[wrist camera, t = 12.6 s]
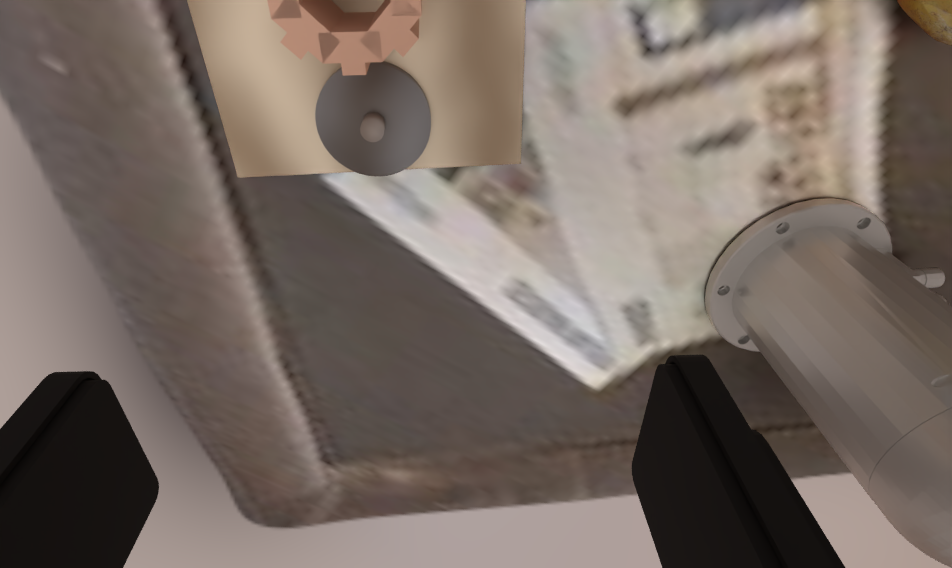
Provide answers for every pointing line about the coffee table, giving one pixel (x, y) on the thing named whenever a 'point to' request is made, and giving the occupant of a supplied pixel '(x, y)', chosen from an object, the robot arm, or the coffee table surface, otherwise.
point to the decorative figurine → (931, 17)
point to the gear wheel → (347, 31)
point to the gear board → (368, 92)
